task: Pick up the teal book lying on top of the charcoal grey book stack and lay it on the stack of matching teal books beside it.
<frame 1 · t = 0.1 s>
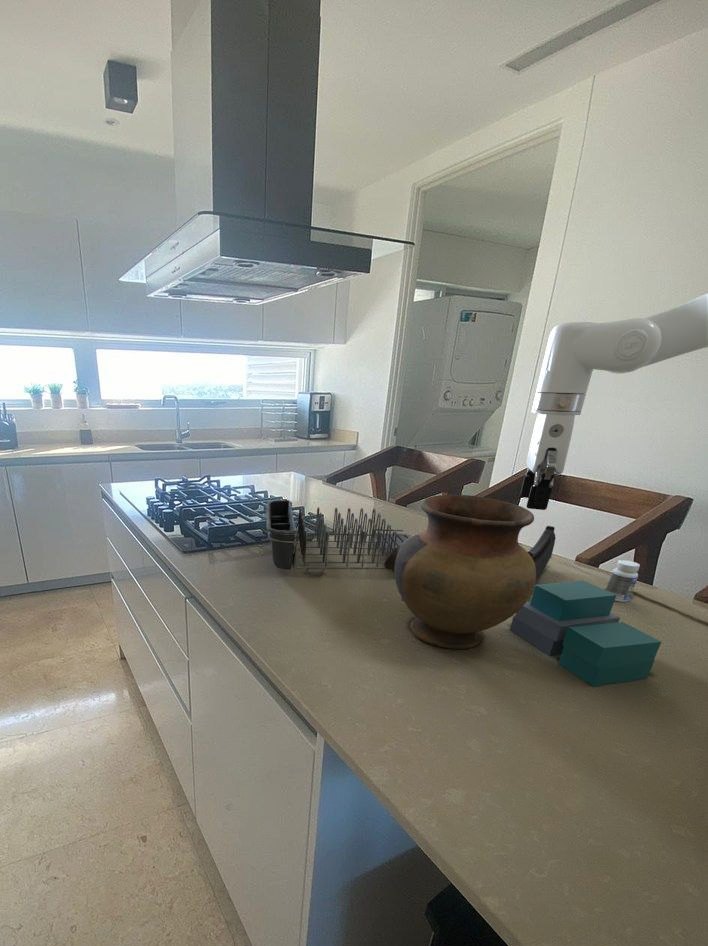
hand: (532, 503, 91), 23 cm above the worktop, tool pointing down, fingers open, 9 cm apart
pill bottle: (616, 598, 110), on the worktop
grey stack: (559, 638, 92), on the worktop
teal stack: (601, 670, 81), on the worktop
pot: (443, 635, 92), on the worktop
teal book: (568, 609, 89), point 6 cm above the worktop, touching grey stack
magazine: (529, 581, 118), on the worktop
dish rack: (347, 558, 131), on the worktop
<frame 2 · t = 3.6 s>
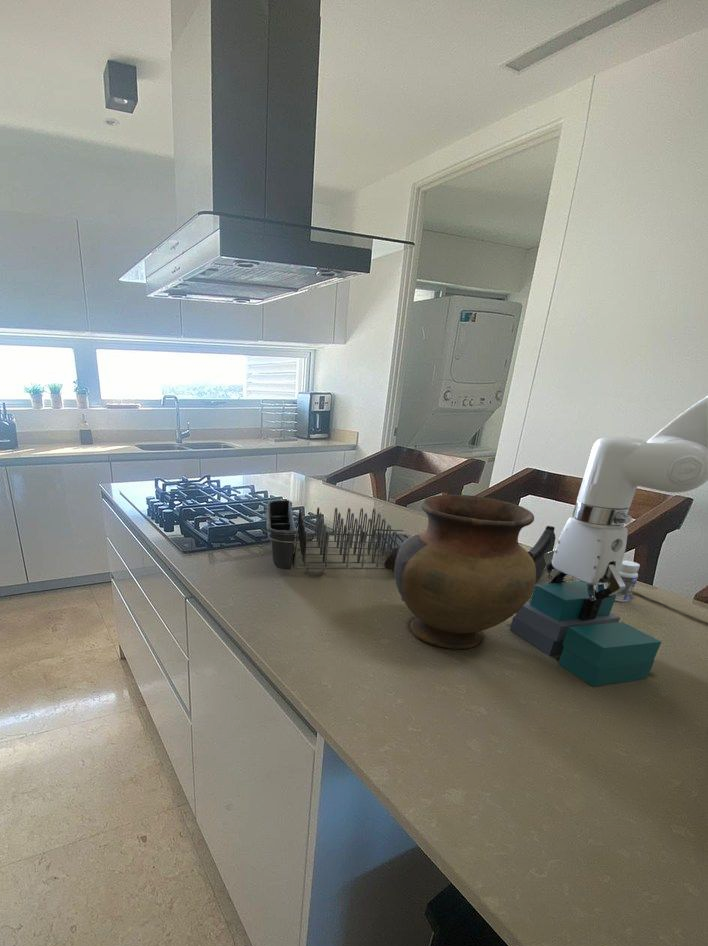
hand: (569, 608, 89), 6 cm above the worktop, tool pointing down, fingers closed on teal book, 7 cm apart
teal book: (568, 609, 89), point 6 cm above the worktop, touching grey stack, gripper
everything else where it was.
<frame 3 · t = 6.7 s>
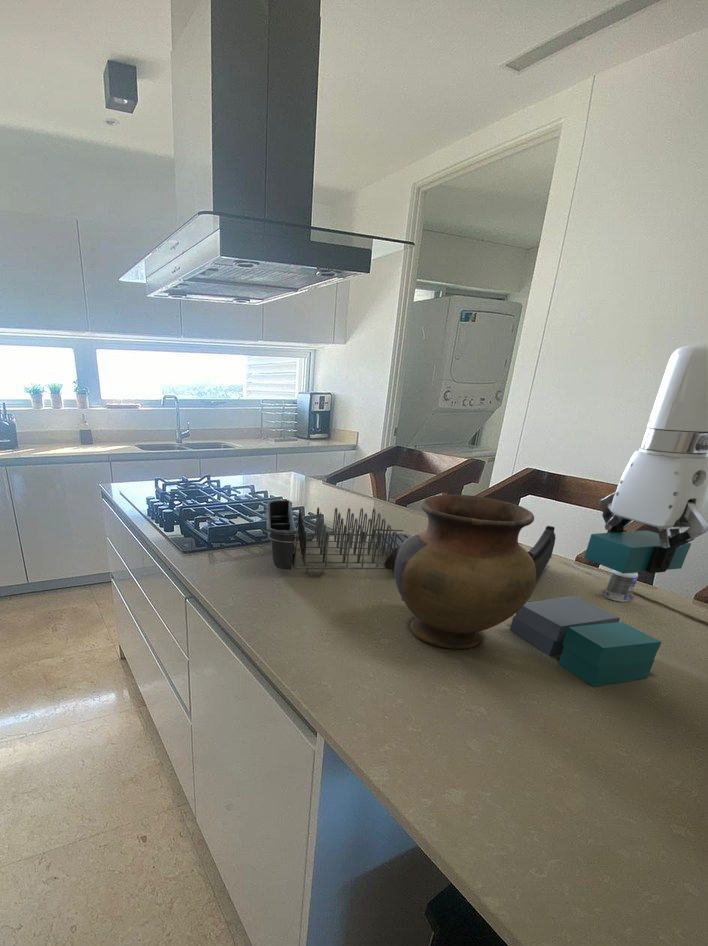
hand: (631, 562, 75), 19 cm above the worktop, tool pointing down, fingers closed on teal book, 7 cm apart
teal book: (631, 563, 75), point 19 cm above the worktop, touching gripper
everything else where it was.
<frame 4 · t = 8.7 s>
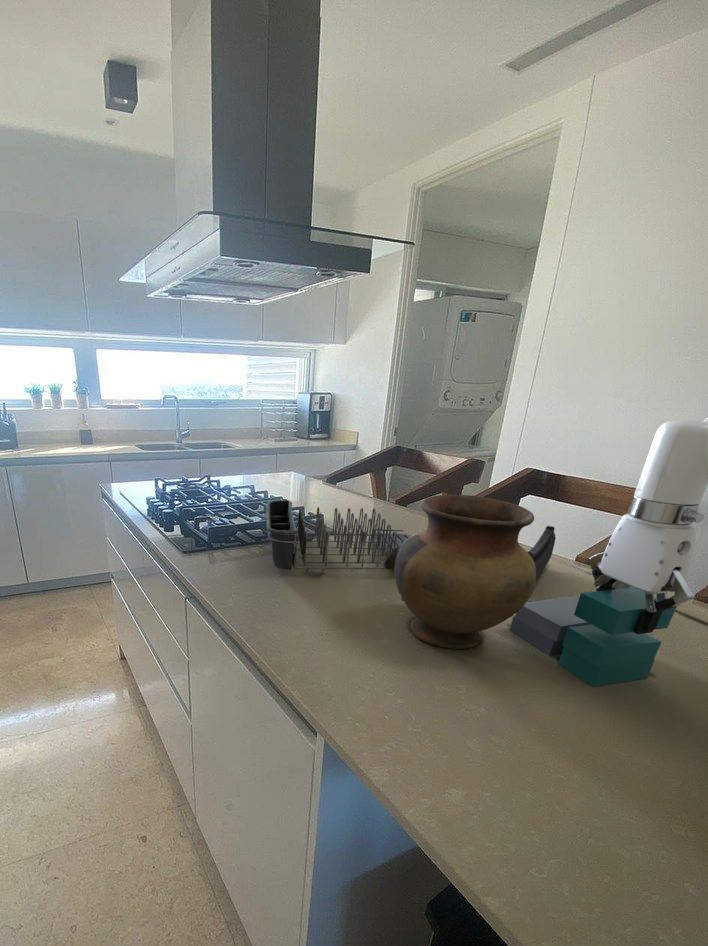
hand: (619, 620, 78), 10 cm above the worktop, tool pointing down, fingers closed on teal book, 7 cm apart
teal book: (619, 621, 78), point 9 cm above the worktop, touching gripper
everything else where it was.
when the fingers open (7 cm above the worktop, at t = 9.9 s): teal book stays where it is, resting on teal stack.
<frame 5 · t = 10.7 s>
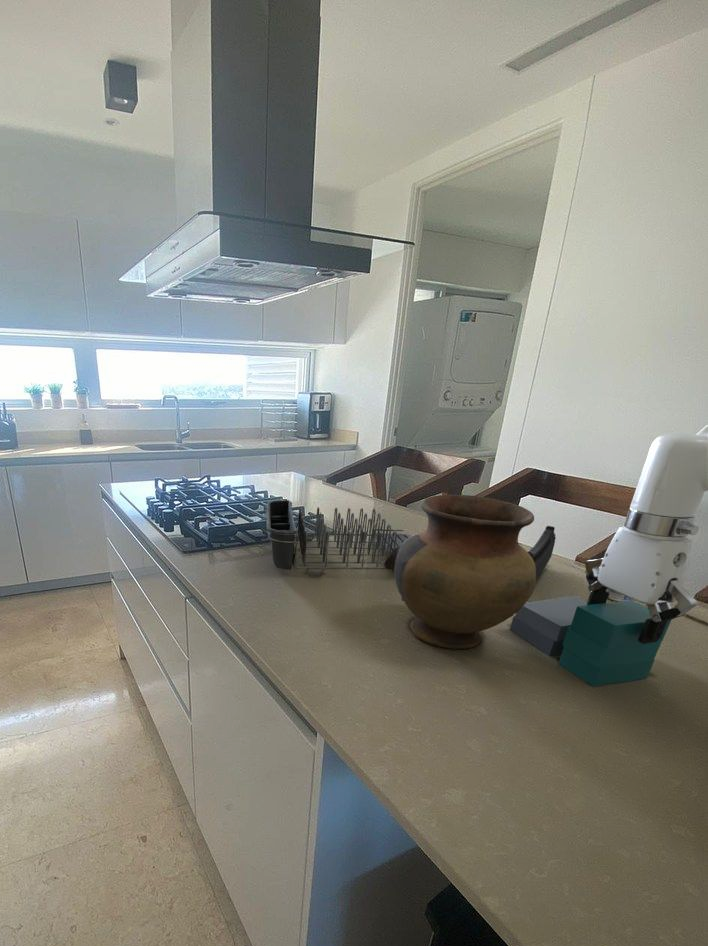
hand: (618, 627, 78), 8 cm above the worktop, tool pointing down, fingers open, 9 cm apart
teal book: (615, 634, 79), point 7 cm above the worktop, touching teal stack
everything else where it was.
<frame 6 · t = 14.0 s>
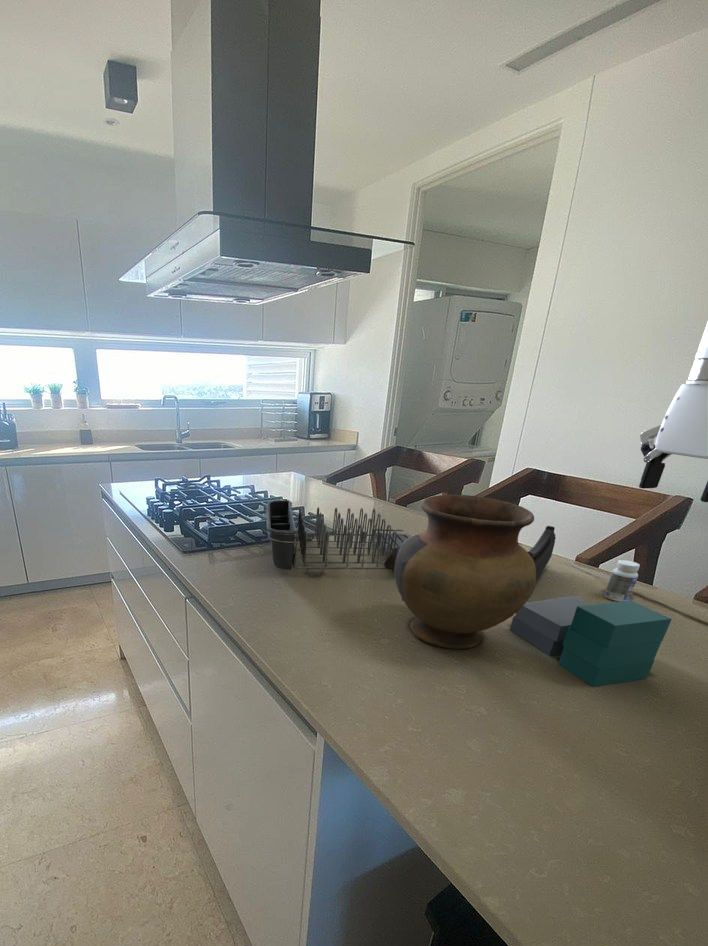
hand: (677, 494, 76), 28 cm above the worktop, tool pointing down, fingers open, 9 cm apart
nothing on the worktop moved.
at the end: teal book 0.0 cm off-centre on the teal stack, point 7.0 cm above the teal stack's base; teal book tilted 0°; the gripper is holding nothing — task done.
